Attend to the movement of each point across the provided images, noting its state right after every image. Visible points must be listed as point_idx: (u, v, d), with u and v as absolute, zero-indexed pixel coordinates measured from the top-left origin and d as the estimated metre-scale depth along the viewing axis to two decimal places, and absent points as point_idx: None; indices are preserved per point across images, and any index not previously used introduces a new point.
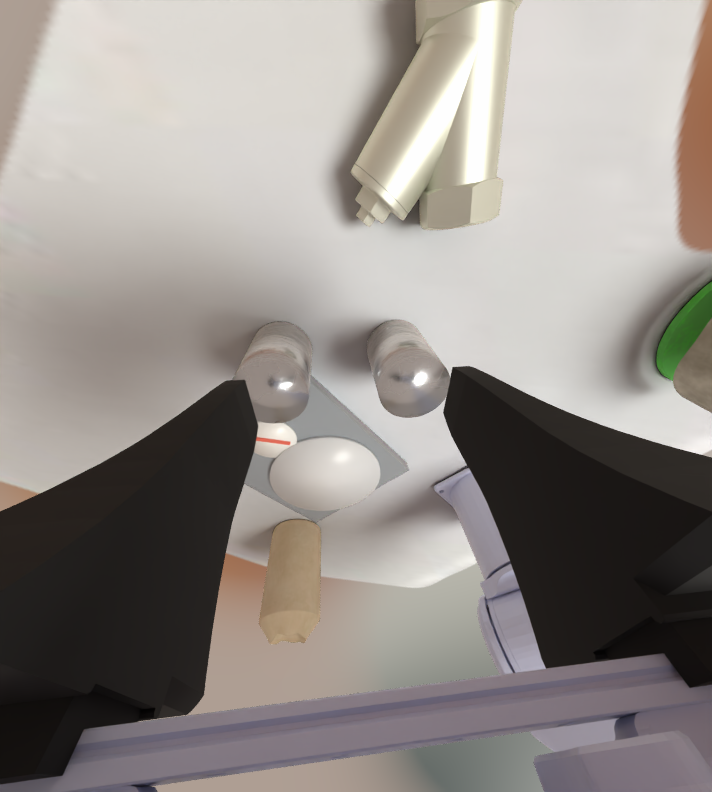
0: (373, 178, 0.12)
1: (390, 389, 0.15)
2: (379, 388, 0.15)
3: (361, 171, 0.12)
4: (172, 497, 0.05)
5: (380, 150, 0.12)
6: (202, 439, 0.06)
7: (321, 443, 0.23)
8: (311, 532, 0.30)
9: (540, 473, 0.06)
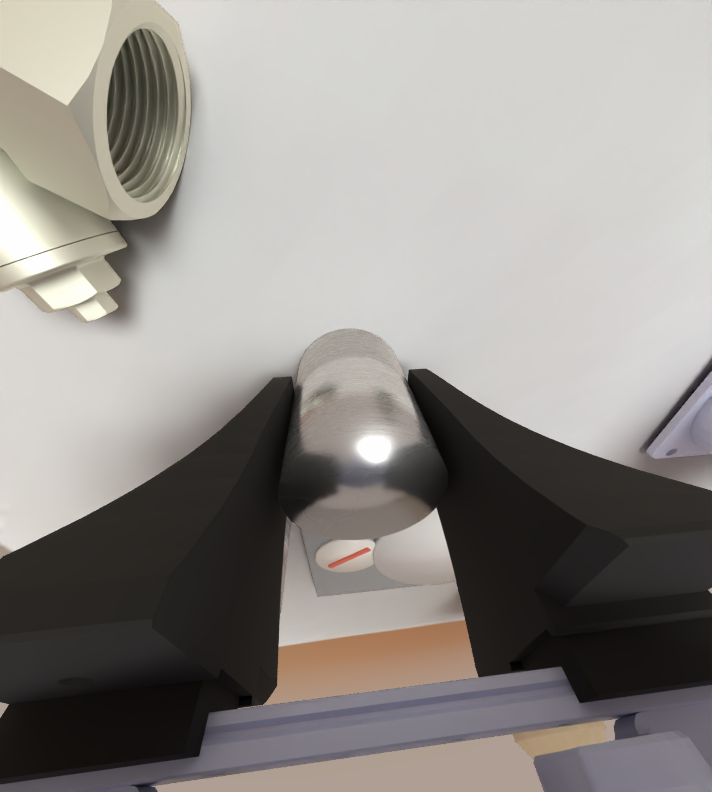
0: None
1: (329, 523, 0.07)
2: (314, 530, 0.07)
3: None
4: (254, 490, 0.05)
5: None
6: (269, 434, 0.07)
7: None
8: None
9: (470, 479, 0.06)
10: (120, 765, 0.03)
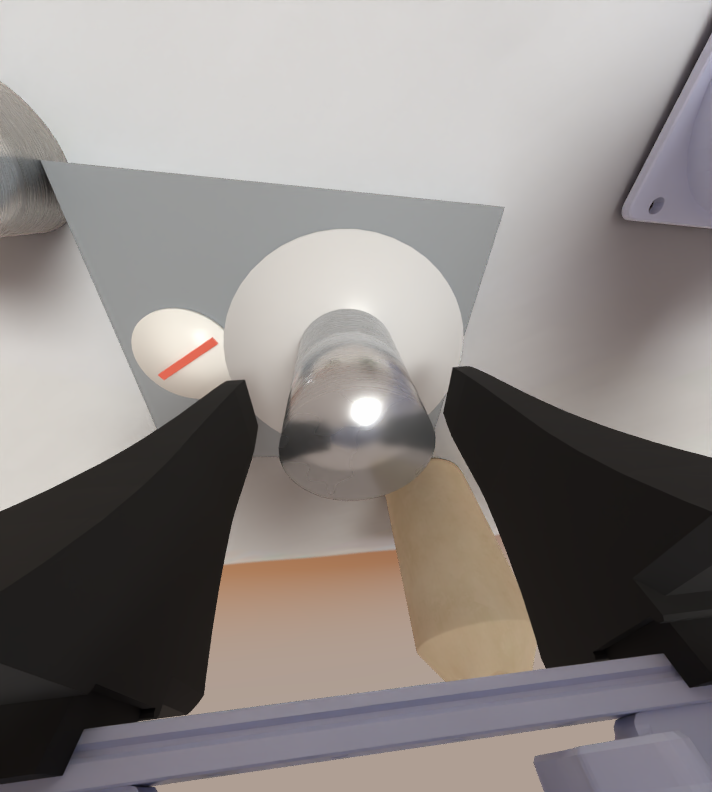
0: None
1: (332, 484, 0.08)
2: (321, 493, 0.08)
3: None
4: (172, 497, 0.05)
5: None
6: (202, 439, 0.06)
7: (252, 294, 0.10)
8: (432, 473, 0.17)
9: (540, 473, 0.06)
10: None
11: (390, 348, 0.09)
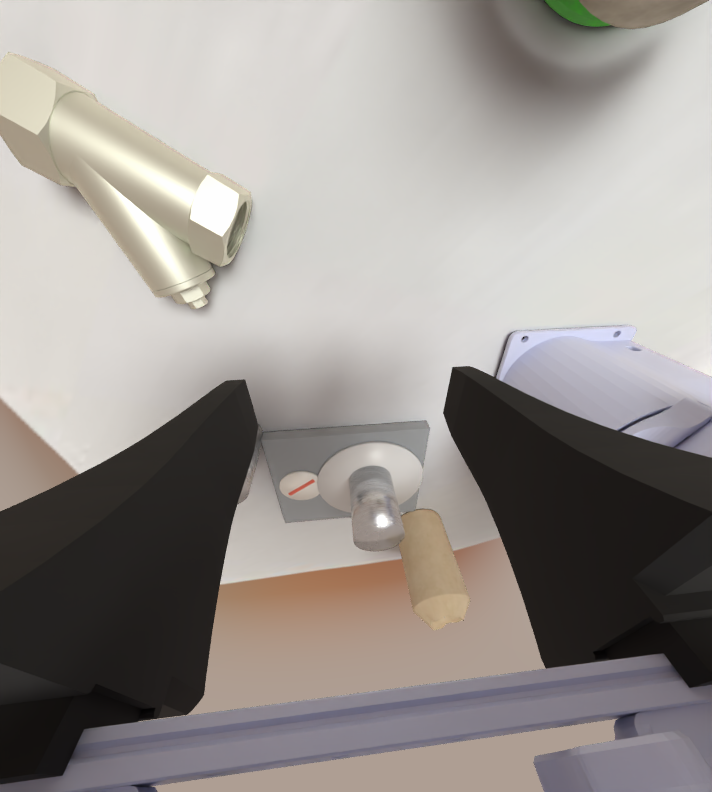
0: (158, 290, 0.14)
1: (370, 546, 0.22)
2: (366, 549, 0.22)
3: (153, 292, 0.14)
4: (172, 497, 0.05)
5: (140, 273, 0.13)
6: (202, 439, 0.06)
7: (330, 466, 0.24)
8: (419, 519, 0.31)
9: (540, 473, 0.06)
10: None
11: (388, 492, 0.23)
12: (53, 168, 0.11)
